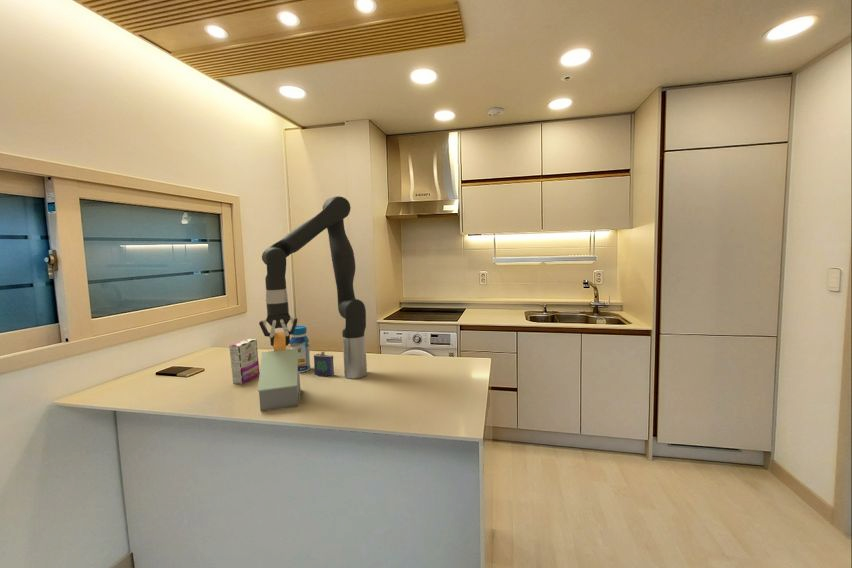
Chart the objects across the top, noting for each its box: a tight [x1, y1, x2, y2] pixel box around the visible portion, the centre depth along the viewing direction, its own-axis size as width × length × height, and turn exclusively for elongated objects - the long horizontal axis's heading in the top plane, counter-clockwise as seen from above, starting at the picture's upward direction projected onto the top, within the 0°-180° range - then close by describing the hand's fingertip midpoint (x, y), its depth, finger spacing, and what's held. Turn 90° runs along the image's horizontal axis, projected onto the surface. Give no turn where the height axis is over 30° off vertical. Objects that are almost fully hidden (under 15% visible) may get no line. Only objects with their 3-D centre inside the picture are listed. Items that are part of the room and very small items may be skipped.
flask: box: [313, 350, 335, 377], centre depth 155 cm, size 9×3×11 cm, turn 74°
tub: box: [258, 372, 301, 412], centre depth 130 cm, size 12×16×7 cm
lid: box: [257, 331, 298, 393], centre depth 130 cm, size 12×23×4 cm
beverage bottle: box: [289, 325, 311, 374], centre depth 162 cm, size 8×8×20 cm
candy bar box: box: [229, 338, 260, 385], centre depth 153 cm, size 11×5×16 cm, turn 168°
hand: (280, 345), depth 136 cm, fingers closed on lid, 4 cm apart
